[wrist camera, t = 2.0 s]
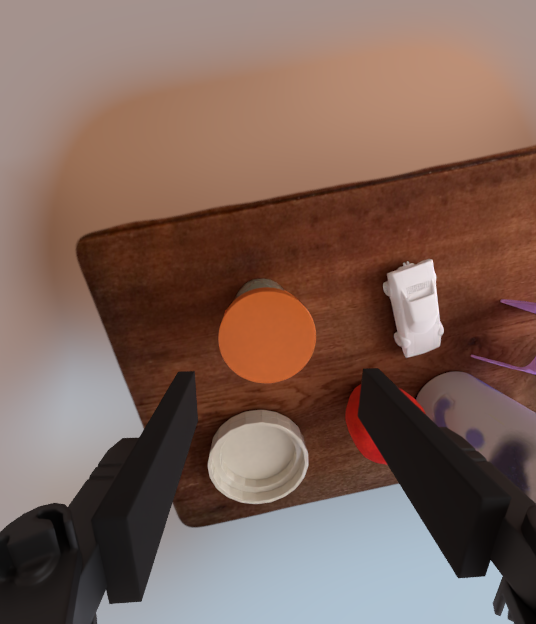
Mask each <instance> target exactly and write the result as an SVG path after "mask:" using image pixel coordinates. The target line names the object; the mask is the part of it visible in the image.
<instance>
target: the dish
mask: <svg viewBox="0 0 536 624" xmlns="http://www.w3.org/2000/svg"><path fill="white" fill-rule="evenodd" d="M307 468H308V452H307V448H306V444H305V441H304V438H303V436H302V433H301V431H300V429H299V427H298V426H297V425H296V424H295V423H294V422H292V421H291V420H290V419H289V418H288V417H286V416H283V415H281V414H279V413H277V412H274V411H267V410H254V411H246V412H243V413H241V414H238V415H236V416H233V417H231V418H230V419H229V420H228V421H226V422H225V423H224V424H223V425H221V426H220V428H219V429H218V431H217V432H216V434H215V436H214V437H213V440H212V445H211V450H210V455H209V460H208V471H209V476H210V479H211V480H212V482H213V484H214V485H215V487H216V488H217V489H218V490H219V491H220V492H222V493H223V494H224V495H225V496H227V497H228V498H231V499H233V500H236V501H239V502H242V503H251V504H260V503H268V502H272V501H275V500H277V499H280V498H282V497H285V496H286V495H288V494H289V493H290V492H292V491H293V490H294V489H296V488H297V486H298V485H299V484H300V483H301V481H302V480H303V479H304V477H305V474H306V471H307Z"/></svg>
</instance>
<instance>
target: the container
mask: <svg viewBox="0 0 536 624" xmlns="http://www.w3.org/2000/svg"><path fill="white" fill-rule="evenodd" d="M416 401H417V402H418V403H419V404H420V405H421V406H422V407H423V409H424V411H425V413H426V415H427V416H428V417H429V418H430V419H431V420H432V421H433V422H434V423H435V424H436V425H437V426H438V427H447V428H449V429H450V430H452V431H454V432H455V433H457V434H459V435H460V436H462V437H463V438H464V439H465V440H466V441H467V442H469V443H470V444H471V445H472V446H473V447H474V448H475V450H476V451H479V452H480V453H481V454H482V455H483V456H484V457H485V458H486V459H487V461H490V462H491V463H492V464H493V465H494V466H495V467H496V468H497V469H498V470H500V471H501V472H502V473H503V474H504V475H505V476H506V477H507V478H508V479H509V480H511V481H512V482H513V483H514V484H515V485H516V486H517V487H518V488H519V489H521V490H522V491H523V492H524V493H525V494H526V495H527V496H528V497H529V498H530V499H532V500H533V501H534V502H535V503H536V413H535V412H533V411H531V410H530V409H528V408H526V407H525V406H523V405H521V404H520V403H518V402H516V401H514V400H513V399H511V398H509V397H508V396H506V395H504V394H503V393H501V392H499V391H497V390H496V389H494V388H492V387H491V386H489V385H487V384H486V383H484V382H482V381H480V380H479V379H477V378H475V377H474V376H472V375H470V374H468V373H465V372H458V371H454V372H447V373H444V374H441V375H439V376H437V377H435V378H433V379H432V380H430V381H429V382H428V383H427V384H426V385H425V386H424V387H423V388H422V389H421V391H420V392H419V394H418V396H417V398H416Z"/></svg>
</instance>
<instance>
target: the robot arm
mask: <svg viewBox="0 0 536 624" xmlns="http://www.w3.org/2000/svg"><path fill="white" fill-rule="evenodd" d="M357 416H358V418H359V419H360V421H361V423H362V424H363V426H364V427H365V429H366V431H367V432H368V434H369V435H370V437H371V439H372V440H373V442H374V444H375V445H376V447H377V448H378V450H379V452H380V453H381V455H382V456H383V458H384V460H385V461H386V463H387V464H388V466H389V468H390V469H391V471H392V472H393V474H394V476H395V477H396V479H397V481H398V482H399V484H400V485H401V487H402V489H403V490H404V492H405V493H406V495H407V497H408V498H409V500H410V501H411V503H412V505H413V506H414V508H415V509H416V511H417V513H418V514H419V516H420V518H421V519H422V521H423V522H424V524H425V526H426V527H427V529H428V530H429V532H430V533H431V535H432V537H433V538H434V540H435V542H436V543H437V545H438V546H439V548H440V550H441V551H442V553H443V554H444V556H445V558H446V559H447V561H448V563H449V564H450V565H451V567H452V569H453V571H454V572H455V574H456V575H457V577H458V578H468V577H481V576H485V575H486V572H487V569H488V566H489V563H490V560H491V561H492V562H493V563H494V565H495V566H496V567H497V569H498V570H499V572H500V573H501V574H502V575H503V577H502V580H501V583H500V585H499V588H498V591H497V593H496V596H495V599H494V602H493V606H494V611H495V614H496V615H499V616H500V615H501V613H502V611H503V608H504V605H505V603H506V604H507V607H508V609H509V611H508V619H509V620H511V621H513V622H514V624H536V503H535V502H534V501H533V500H532V499H530V498H529V497H528V496H527V495H526V494H525V493H524V492H523V491H522V490H521V489H519V488H518V487H517V486H516V485H515V484H514V483H513V482H512V481H511V480H509V479H508V478H507V477H506V476H505V475H504V474H503V473H502V472H501V471H500V470H498V469H497V468H496V467H495V466H494V465H493V464H492V463H491V462H490V461H487V459H486V458H485V457H484V456H483V455H482V454H481V453H480V452H479V451H476V450H475V448H474V447H473V446H472V445H471V444H470V443H469V442H467V441H466V440H465V439H464V438H463V437H462V436H460V435H459V434H457V433H455V432H454V431H452V430H450V429H449V428H447V427H438V426H437V425H436V424H435V423H434V422H433V421H432V420H431V419H430V418H429V417H428V416H427V415H426V414H425V413H424V412H423V411H422V410H421V409H420V408H419V407H418V406H417V405H415V404H414V403H413V402H412V401H411V400H410V399H409V398H408V397H407V396H406V395H405V394H404V393H403V392H402V391H401V390H400V389H399V388H398V387H397V386H396V385H395V384H394V383H393V382H392V381H391V380H390V379H389V378H388V377H386V376H385V375H384V374H383V373H382V372H381V371H380V370H379V369H378V368H371V369H363V375H362V383H361V391H360V399H359V407H358V415H357ZM197 422H198V415H197V400H196V385H195V371H189V372H178V373H177V375H176V376H175V378H174V380H173V381H172V383H171V385H170V386H169V388H168V390H167V392H166V393H165V395H164V397H163V398H162V400H161V402H160V403H159V405H158V407H157V408H156V410H155V412H154V414H153V415H152V417H151V419H150V420H149V422H148V424H147V425H146V427H145V429H144V430H143V432H142V434H141V436H140V437H139V438H122V439H121V440H120V441H119V442H117V443H116V444H115V445H114V446H113V447H111V448H110V449H109V450H108V451H107V453H106V454H105V455H104V457H103V458H102V460H101V461H100V462H99V464H98V467H96V468H95V469H94V471H93V472H92V474H91V475H90V478H89V480H87V481H86V482H85V484H84V485H83V486H82V488H81V489H80V491H79V492H78V494H77V495H76V496H75V498H74V499H73V501H72V502H71V503H70V505H69V507H67V506H66V505H65V504H58V503H53V504H48V505H43V506H40V507H37V508H35V509H33V510H31V511H29V512H27V513H25V514H23V515H22V516H20V517H19V518H17V519H16V520H14V521H13V522H11V523H10V524H9V525H7V526H6V527H5V528H4V529H3V530H2V531H1V532H0V624H97V617H96V611H97V609H98V607H99V604H100V602H101V600H102V597H103V595H104V592H105V590H107V595H108V599H109V603H110V604H113V603H128V602H141V601H142V598H143V595H144V591H145V588H146V585H147V582H148V579H149V576H150V572H151V569H152V566H153V563H154V559H155V556H156V553H157V550H158V547H159V543H160V540H161V537H162V534H163V531H164V528H165V524H166V521H167V518H168V514H169V511H170V508H171V505H172V502H173V499H174V496H175V492H176V489H177V486H178V483H179V479H180V476H181V473H182V470H183V467H184V463H185V460H186V457H187V454H188V451H189V447H190V444H191V441H192V438H193V435H194V431H195V428H196V425H197Z"/></svg>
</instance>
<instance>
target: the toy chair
mask: <svg viewBox="0 0 536 624" xmlns="http://www.w3.org/2000/svg"><path fill="white" fill-rule="evenodd" d="M500 302H502V303H505V304H508V305H511V306H514V307H517V308H520V309H523V310H526V311H529V312H532V313H535V314H536V303H534V302H526V301H516V300H505V299H501V301H500ZM470 357H473V358H476V359H480V360H483V361H487V362H490V363H493V364H497V365H500V366H504V367H507V368H512V369H516V370H520V371H524V372H527V373H531V374H534V375H536V357H535V358H534V359H533V361H532V362H531V363H530V364H529V365H527V366H526V367H516V366H513V365H509V364H506V363H502V362H498V361H495V360H491V359H487V358H483V357H479V356H475V355H471V356H470Z"/></svg>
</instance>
